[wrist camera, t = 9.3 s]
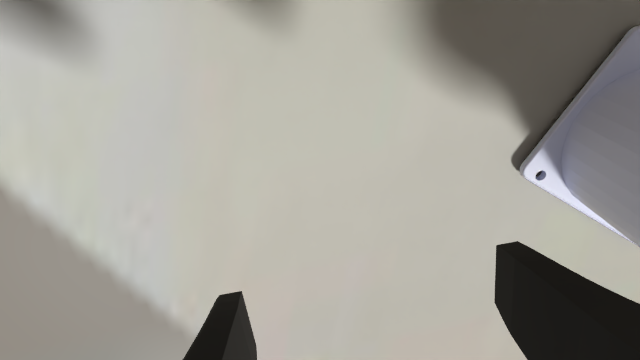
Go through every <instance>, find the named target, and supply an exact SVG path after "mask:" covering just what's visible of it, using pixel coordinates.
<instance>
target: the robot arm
mask: <svg viewBox="0 0 640 360" xmlns="http://www.w3.org/2000/svg"><path fill="white" fill-rule="evenodd" d="M539 171H542V173H541V174H540V175H539V176H538V177H536V174H537V173H538V172H539ZM520 174H521V175H522V176H523V177H524V178H525V179H527V180H528V181H530V182H532V183H533V184H535V185H537V186H538V187H540V188H542V189H543V190H545V191H547V192H548V193H550V194H552V195H553V196H555V197H557V198H558V199H560V200H562V201H563V202H565V203H567V204H569V205H570V206H572V207H574V208H575V209H577V210H579V211H580V212H582V213H584V214H585V215H587V216H589V217H590V218H592V219H594V220H595V221H597V222H599V223H600V224H602V225H604V226H605V227H607V228H609V229H610V230H612V231H614V232H615V233H617V234H619V235H620V236H622V237H624V238H625V239H627V240H629V241H630V242H632V243H634V244H635V245H637V246H639V247H640V26H635V27H633V28H631V29H630V30H629V31H628V32H627V33H626V35H625V36H624V37H623V38H622V40H621V41H620V42H619V43H618V45H617V46H616V47H615V48H614V50H613V51H612V52H611V53H610V55H609V56H608V57H607V58H606V60H605V61H604V62H603V63H602V65H601V66H600V67H599V68H598V70H597V71H596V72H595V73H594V75H593V76H592V77H591V78H590V80H589V81H588V82H587V83H586V85H585V86H584V87H583V88H582V90H581V91H580V92H579V93H578V95H577V96H576V97H575V98H574V99H573V101H572V102H571V103H570V104H569V106H568V107H567V108H566V109H565V111H564V112H563V113H562V114H561V116H560V117H559V118H558V119H557V121H556V122H555V123H554V124H553V126H552V127H551V128H550V129H549V131H548V132H547V133H546V134H545V136H544V137H543V138H542V139H541V141H540V142H539V143H538V144H537V146H536V147H535V148H534V149H533V151H532V152H531V153H530V154H529V156H528V157H527V158H526V159H525V161H524V162H523V163H522V165H521V166H520ZM495 304H496V306H497V308H498V310H499V312H500V314H501V316H502V319H503V321H504V322H505V324H506V326H507V328H508V330H509V332H510V334H511V335H512V337H513V339H514V340H515V342H516V343H517V345H518V346H519V348H520V349H521V351H522V352H523V354H524V355H525V357H526V358H527V359H528V360H640V304H638V303H636V302H634V301H632V300H629V299H627V298H625V297H623V296H621V295H619V294H617V293H614V292H612V291H610V290H608V289H606V288H604V287H602V286H600V285H598V284H596V283H594V282H592V281H590V280H588V279H586V278H584V277H582V276H581V275H579V274H577V273H575V272H573V271H571V270H569V269H568V268H566V267H564V266H562V265H560V264H558V263H557V262H555V261H553V260H551V259H549V258H548V257H546V256H544V255H542V254H540V253H539V252H537V251H535V250H533V249H531V248H530V247H528V246H526V245H524V244H522V243H520V242H518V241H517V242H512V243H506V244H501V245H497V246H496V276H495ZM183 360H257V350H256V343H255V339H254V336H253V332H252V328H251V324H250V321H249V317H248V313H247V309H246V306H245V302H244V298H243V294H242V291H240V292H234V293H229V294H223V295H219V297H218V298H217V299H216V301H215V303H214V305H213V307H212V309H211V311H210V313H209V315H208V317H207V319H206V321H205V322H204V324H203V326H202V328H201V330H200V332H199V333H198V335H197V337H196V339H195V340H194V342H193V344H192V345H191V347H190V349H189V350H188V352H187V354H186V355H185V357H184V359H183Z"/></svg>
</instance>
